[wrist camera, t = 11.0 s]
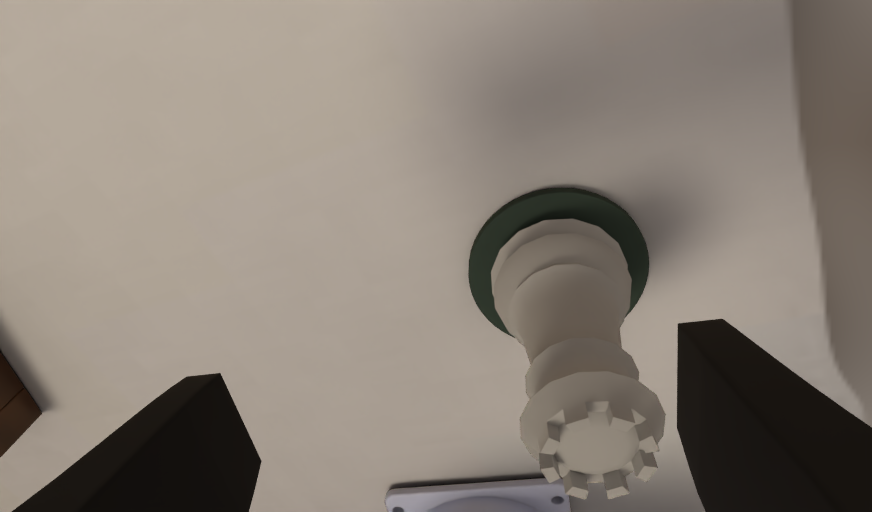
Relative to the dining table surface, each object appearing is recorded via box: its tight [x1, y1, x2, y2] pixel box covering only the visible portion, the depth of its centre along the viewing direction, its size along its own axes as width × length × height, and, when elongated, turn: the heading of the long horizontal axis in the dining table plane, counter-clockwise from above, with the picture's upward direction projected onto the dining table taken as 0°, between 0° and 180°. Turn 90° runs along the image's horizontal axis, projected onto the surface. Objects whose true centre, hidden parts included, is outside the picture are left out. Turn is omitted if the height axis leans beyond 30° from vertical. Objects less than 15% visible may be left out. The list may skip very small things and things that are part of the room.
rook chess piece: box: [491, 219, 665, 499], centre depth 16 cm, size 4×4×8 cm
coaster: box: [469, 188, 649, 338], centre depth 19 cm, size 6×6×1 cm
